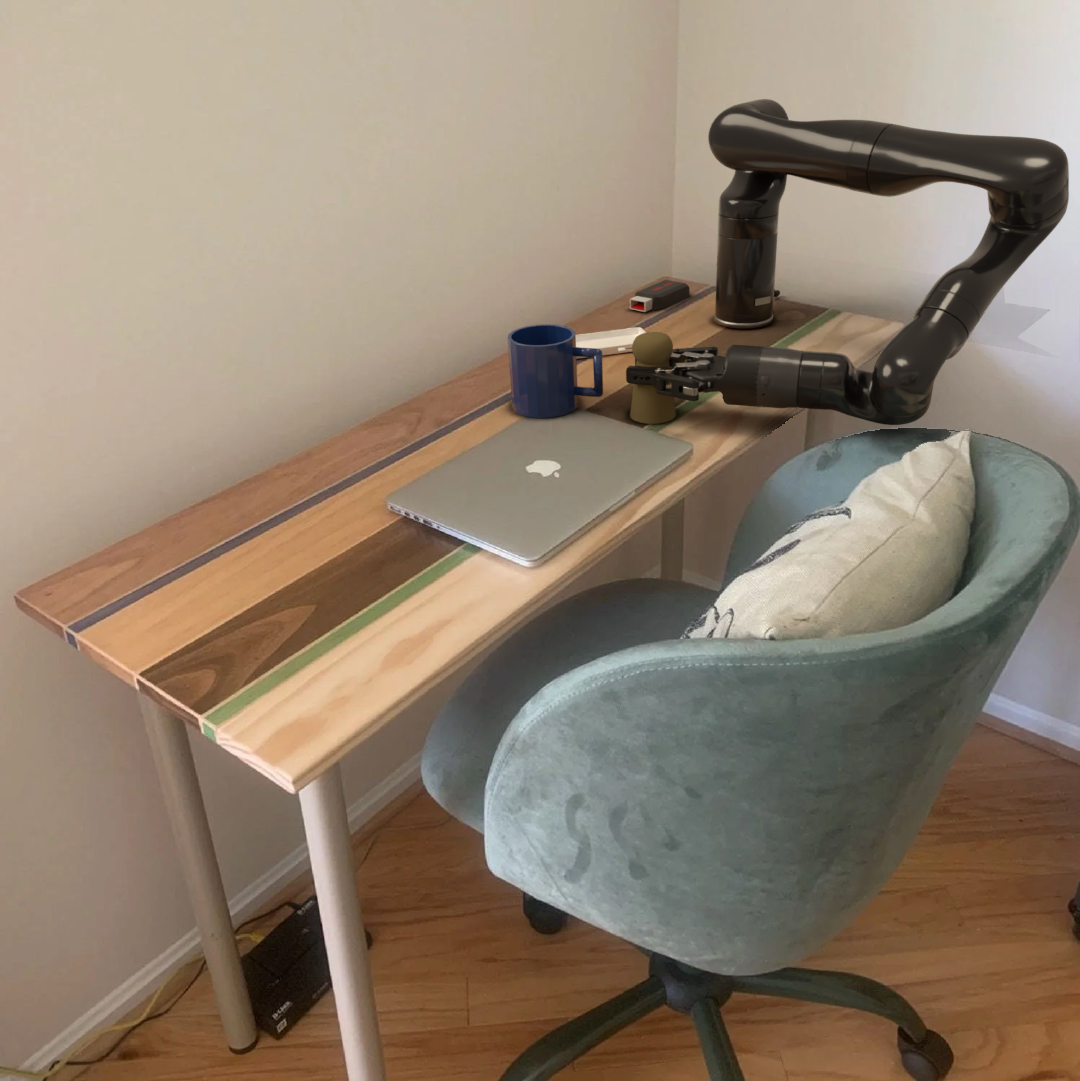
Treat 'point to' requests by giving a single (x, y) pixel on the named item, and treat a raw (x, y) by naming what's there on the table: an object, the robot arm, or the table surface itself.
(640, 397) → the olive pawn figure
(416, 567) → the table surface
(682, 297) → the usb drive
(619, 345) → the phone case
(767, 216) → the robot arm
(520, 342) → the mug
